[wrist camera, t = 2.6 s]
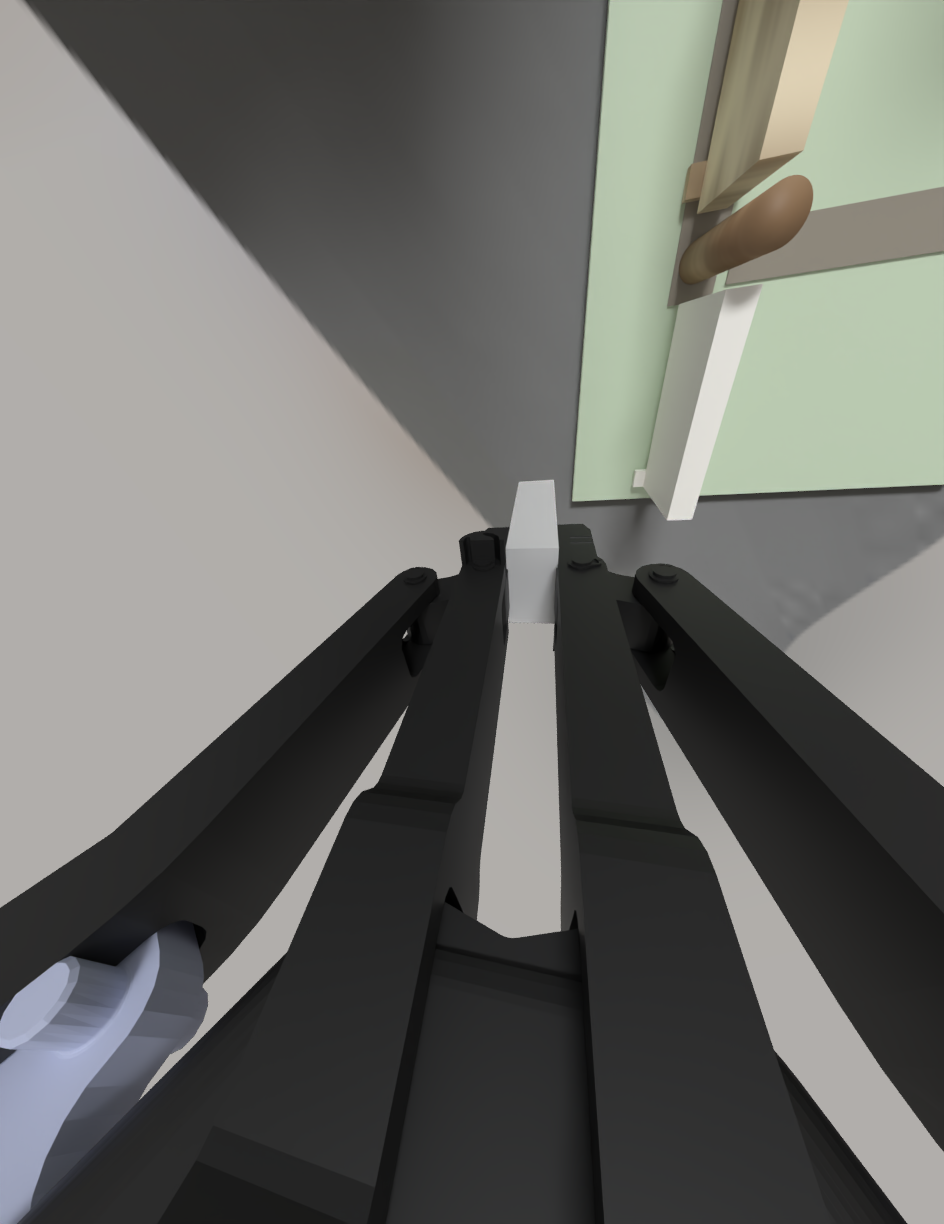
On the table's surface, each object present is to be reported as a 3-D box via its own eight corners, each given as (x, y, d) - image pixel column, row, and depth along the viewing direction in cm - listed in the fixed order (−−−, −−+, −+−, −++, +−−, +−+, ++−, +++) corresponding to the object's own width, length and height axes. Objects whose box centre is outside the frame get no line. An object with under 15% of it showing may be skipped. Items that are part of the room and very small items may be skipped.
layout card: (629, -290, 10) (634, -326, 10) (1985, -937, 6) (2136, -1071, 5) (571, 498, 25) (572, 502, 24) (948, 480, 20) (959, 484, 20)
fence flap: (663, 306, 17) (708, 292, 13) (715, 299, 17) (782, 280, 12) (631, 485, 23) (654, 520, 18) (670, 483, 22) (704, 519, 18)
